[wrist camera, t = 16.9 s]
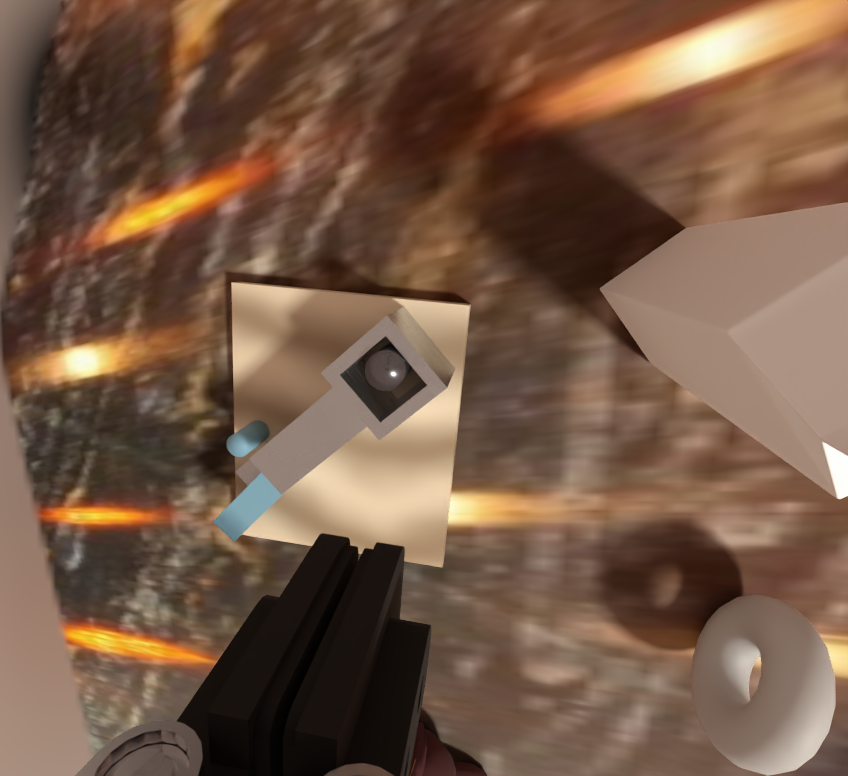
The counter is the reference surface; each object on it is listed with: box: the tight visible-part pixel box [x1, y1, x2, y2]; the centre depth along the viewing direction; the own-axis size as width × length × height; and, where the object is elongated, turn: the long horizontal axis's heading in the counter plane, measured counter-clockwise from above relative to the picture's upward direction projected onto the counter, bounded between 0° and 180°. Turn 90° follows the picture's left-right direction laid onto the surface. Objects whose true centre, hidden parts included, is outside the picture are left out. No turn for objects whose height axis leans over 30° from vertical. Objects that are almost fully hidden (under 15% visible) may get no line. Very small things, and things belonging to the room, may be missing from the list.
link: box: [235, 307, 455, 495], centre depth 32 cm, size 17×5×5 cm, turn 130°
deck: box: [231, 282, 471, 567], centre depth 36 cm, size 19×16×1 cm
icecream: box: [409, 722, 487, 776], centre depth 39 cm, size 7×7×15 cm
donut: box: [691, 594, 835, 775], centre depth 31 cm, size 10×4×10 cm, turn 158°
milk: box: [600, 202, 848, 499], centre depth 20 cm, size 6×6×22 cm
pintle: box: [365, 342, 413, 391], centre depth 30 cm, size 2×2×6 cm
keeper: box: [213, 420, 286, 542], centre depth 36 cm, size 6×5×5 cm
